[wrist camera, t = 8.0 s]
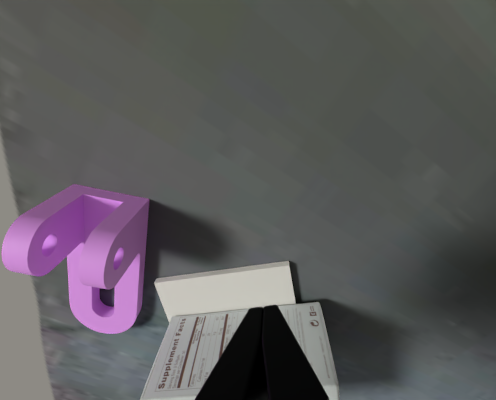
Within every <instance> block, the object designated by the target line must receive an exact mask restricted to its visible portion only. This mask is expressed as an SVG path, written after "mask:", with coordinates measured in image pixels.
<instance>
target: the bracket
mask: <svg viewBox="0 0 496 400" xmlns="http://www.w3.org/2000/svg"><path fill="white" fill-rule="evenodd" d="M148 212H149V199H147V198H142V197H136V196H131V195H126V194H121V193H116V192H111V191H106V190H101V189H96V188H91V187H86V186H81V185H76V184H73V185H71V186H70V187H68V188H66V189H64V190H63V191H61V192H59V193H58V194H56V195H54V196H53V197H51V198H49V199H47V200H46V201H44V202H42V203H41V204H39V205H37V206H36V207H34V208H32V209H30V210H29V211H27V212H25V213H24V214H22V215H21V216H19V217H18V218H17V219H16V220H15V221H14V223H13V224H12V225H11V227H10V228H9V230H8V232H7V233H6V236H5V238H4V241H3V245H2V261H3V263H4V266H5V267H6V268H7V269H8V270H10V271H13V272H18V273H23V274H28V275H34V276H43V275H46V274H47V273H49V272H50V271H51V270H52V269H53V268H55V267H56V266H57V265H58V264H59V263H60V262H61V261H62V260H63V259H64V258H65V257H66V256H67V264H68V282H69V300H70V307H71V310H72V312H73V314H74V316H75V317H76V318H77V319H78V320H79V321H80V322H81V323H82V324H83V325H85V326H86V327H88V328H90V329H92V330H94V331H97V332H101V333H106V334H116V333H121V332H124V331H126V330H127V329H129V328H130V327H131V326H132V325H133V324H134V322H135V320H136V318H137V316H138V314H139V312H140V310H141V307H142V297H143V283H144V269H145V255H146V240H147V226H148ZM114 287H115V301H114V307H110V306H107V305H105V304H103V303H102V302H101V300H100V288H102V289H108V290H110V289H112V288H114Z"/></svg>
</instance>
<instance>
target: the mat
mask: <svg viewBox="0 0 496 400" xmlns="http://www.w3.org/2000/svg"><path fill="white" fill-rule="evenodd" d="M154 284H155V287H156V289H157V292H158V295H159V297H160V300H161V302H162V305H163V307H164V310H165V313H166V315H167V318H168V320H169V323H170V321H171V318H172V317H173V316H185V315H195V314H205V313H215V312H224V311H234V310H243V309H250V308H254V307H265V306H269V305H277V306H281V305H292V304H296V301H295V295H294V290H293V284H292V278H291V272H290V266H289V261H283V262H276V263H268V264H261V265H253V266H246V267H238V268H231V269H223V270H216V271H208V272H201V273H193V274H186V275H178V276H171V277H163V278H156V280H155V282H154Z"/></svg>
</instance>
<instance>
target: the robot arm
mask: <svg viewBox="0 0 496 400" xmlns="http://www.w3.org/2000/svg"><path fill="white" fill-rule="evenodd" d="M195 400H329V397H328V395H327V393H326V392H325V390H324V388H323V386H322V384H321V383H320V381H319V379H318V377H317V375H316V374H315V372H314V370H313V368H312V367H311V365H310V363H309V361H308V359H307V358H306V356H305V354H304V352H303V350H302V349H301V347H300V345H299V343H298V341H297V340H296V338H295V336H294V334H293V332H292V331H291V329H290V327H289V325H288V323H287V322H286V320H285V318H284V316H283V314H282V313H281V311H280V309H279V307H278V306H277V305H269V306H265V307H264V308H263V307H254V308H250V309H249V310H248V312H247V313H246V315H245V317H244V318H243V320H242V322H241V323H240V325H239V327H238V328H237V330H236V331H235V333H234V335H233V336H232V338H231V340H230V341H229V343H228V345H227V346H226V348H225V350H224V351H223V353H222V355H221V356H220V358H219V360H218V361H217V363H216V365H215V366H214V368H213V370H212V371H211V373H210V375H209V376H208V378H207V380H206V381H205V383H204V385H203V386H202V388H201V390H200V391H199V393H198V395H197V396H196V398H195Z"/></svg>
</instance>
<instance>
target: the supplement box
mask: <svg viewBox="0 0 496 400" xmlns="http://www.w3.org/2000/svg"><path fill="white" fill-rule="evenodd" d="M278 307H279V309H280V311H281V313H282V314H283V316H284V318H285V320H286V322H287V323H288V325H289V327H290V329H291V331H292V332H293V334H294V336H295V338H296V340H297V341H298V343H299V345H300V347H301V349H302V350H303V352H304V354H305V356H306V358H307V359H308V361H309V363H310V365H311V367H312V368H313V370H314V372H315V374H316V375H317V377H318V379H319V381H320V383H321V384H322V386H323V388H324V390H325V392H326V393H327V395H328V397H329V400H340V399H339V383H338V379H337V374H336V369H335V365H334V360H333V356H332V352H331V347H330V343H329V338H328V334H327V330H326V326H325V321H324V317H323V313H322V309H321V305H320V303H319V302H312V303H302V304H292V305H281V306H278ZM263 308H264V307H263ZM248 310H249V309H243V310H234V311H224V312H215V313H205V314H195V315H185V316H173V317H172V318H171V321H170V324H169V326H168V329H167V331H166V334H165V336H164V339H163V341H162V344H161V346H160V349H159V351H158V354H157V356H156V359H155V361H154V364H153V367H152V369H151V372H150V374H149V377H148V379H147V382H146V384H145V387H144V390H143V393H142V395H141V398H140V400H195V398H196V396H197V395H198V393H199V391H200V390H201V388H202V386H203V385H204V383H205V381H206V380H207V378H208V376H209V375H210V373H211V371H212V370H213V368H214V366H215V365H216V363H217V361H218V360H219V358H220V356H221V355H222V353H223V351H224V350H225V348H226V346H227V345H228V343H229V341H230V340H231V338H232V336H233V335H234V333H235V331H236V330H237V328H238V327H239V325H240V323H241V322H242V320H243V318H244V317H245V315H246V313H247V312H248Z"/></svg>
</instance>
